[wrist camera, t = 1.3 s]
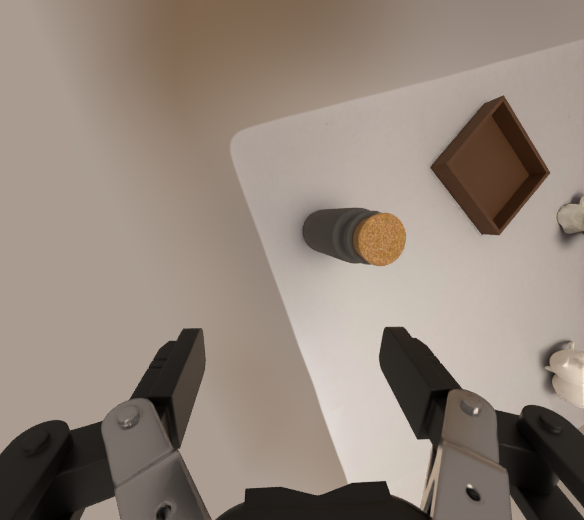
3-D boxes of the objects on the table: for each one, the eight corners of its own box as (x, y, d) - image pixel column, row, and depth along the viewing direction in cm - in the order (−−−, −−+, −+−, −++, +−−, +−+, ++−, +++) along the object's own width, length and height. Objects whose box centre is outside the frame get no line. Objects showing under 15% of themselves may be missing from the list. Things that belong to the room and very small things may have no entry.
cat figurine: (609, 373, 45) (623, 426, 47) (601, 330, 51) (613, 378, 54) (539, 367, 51) (555, 413, 54) (539, 329, 58) (553, 372, 60)
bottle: (346, 216, 39) (420, 217, 24) (334, 256, 39) (399, 279, 25) (309, 204, 37) (364, 196, 23) (297, 245, 38) (344, 263, 23)
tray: (430, 167, 41) (446, 163, 38) (484, 103, 42) (503, 95, 39) (481, 234, 45) (499, 235, 43) (530, 175, 46) (550, 172, 43)
